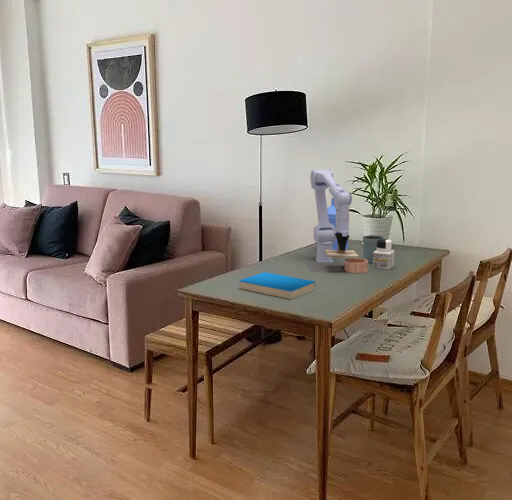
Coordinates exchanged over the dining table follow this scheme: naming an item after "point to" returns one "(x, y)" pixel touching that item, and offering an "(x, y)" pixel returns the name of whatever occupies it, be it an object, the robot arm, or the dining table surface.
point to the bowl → (356, 265)
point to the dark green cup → (370, 246)
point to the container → (383, 255)
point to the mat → (324, 267)
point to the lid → (341, 253)
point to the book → (277, 285)
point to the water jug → (334, 223)
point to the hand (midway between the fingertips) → (341, 249)
